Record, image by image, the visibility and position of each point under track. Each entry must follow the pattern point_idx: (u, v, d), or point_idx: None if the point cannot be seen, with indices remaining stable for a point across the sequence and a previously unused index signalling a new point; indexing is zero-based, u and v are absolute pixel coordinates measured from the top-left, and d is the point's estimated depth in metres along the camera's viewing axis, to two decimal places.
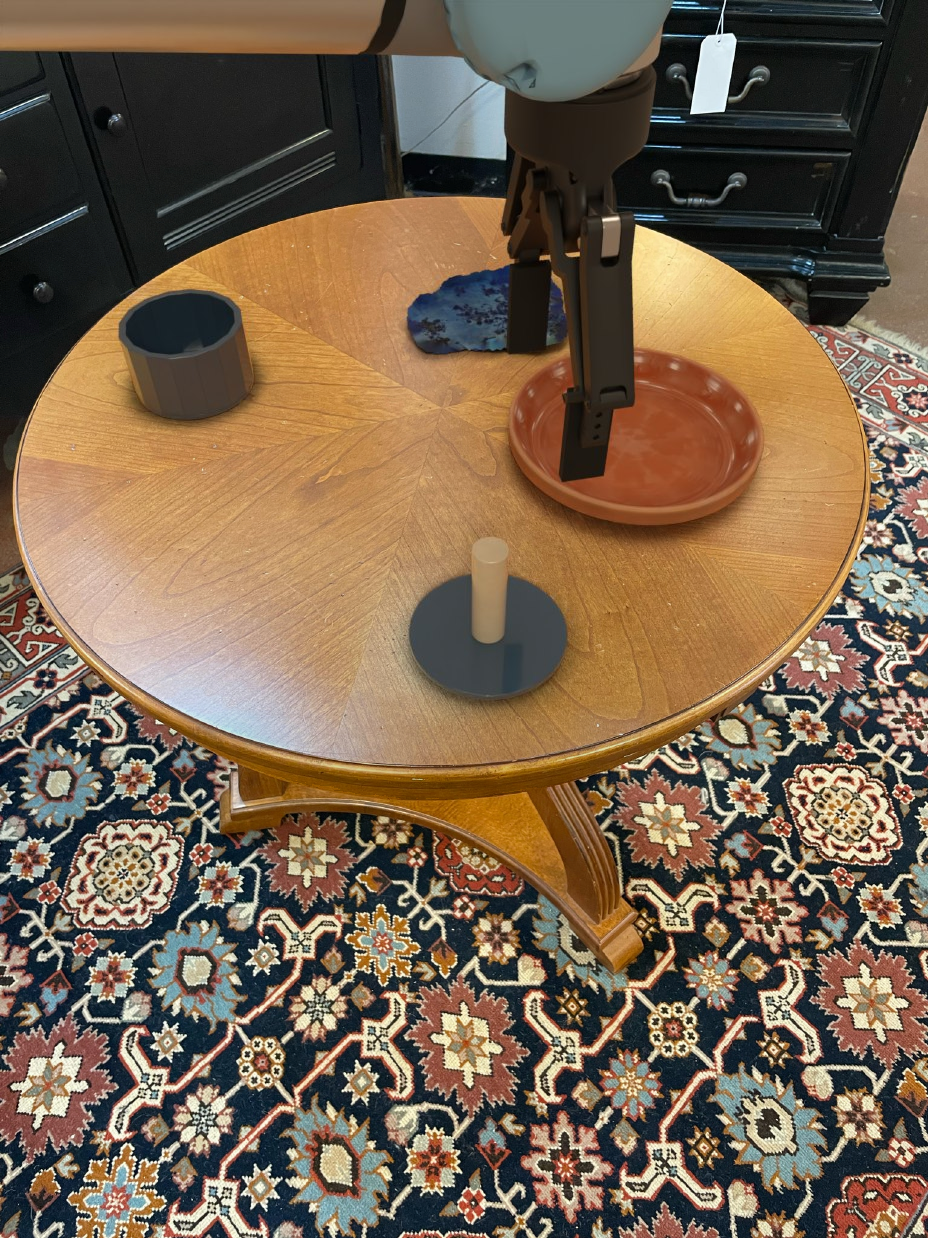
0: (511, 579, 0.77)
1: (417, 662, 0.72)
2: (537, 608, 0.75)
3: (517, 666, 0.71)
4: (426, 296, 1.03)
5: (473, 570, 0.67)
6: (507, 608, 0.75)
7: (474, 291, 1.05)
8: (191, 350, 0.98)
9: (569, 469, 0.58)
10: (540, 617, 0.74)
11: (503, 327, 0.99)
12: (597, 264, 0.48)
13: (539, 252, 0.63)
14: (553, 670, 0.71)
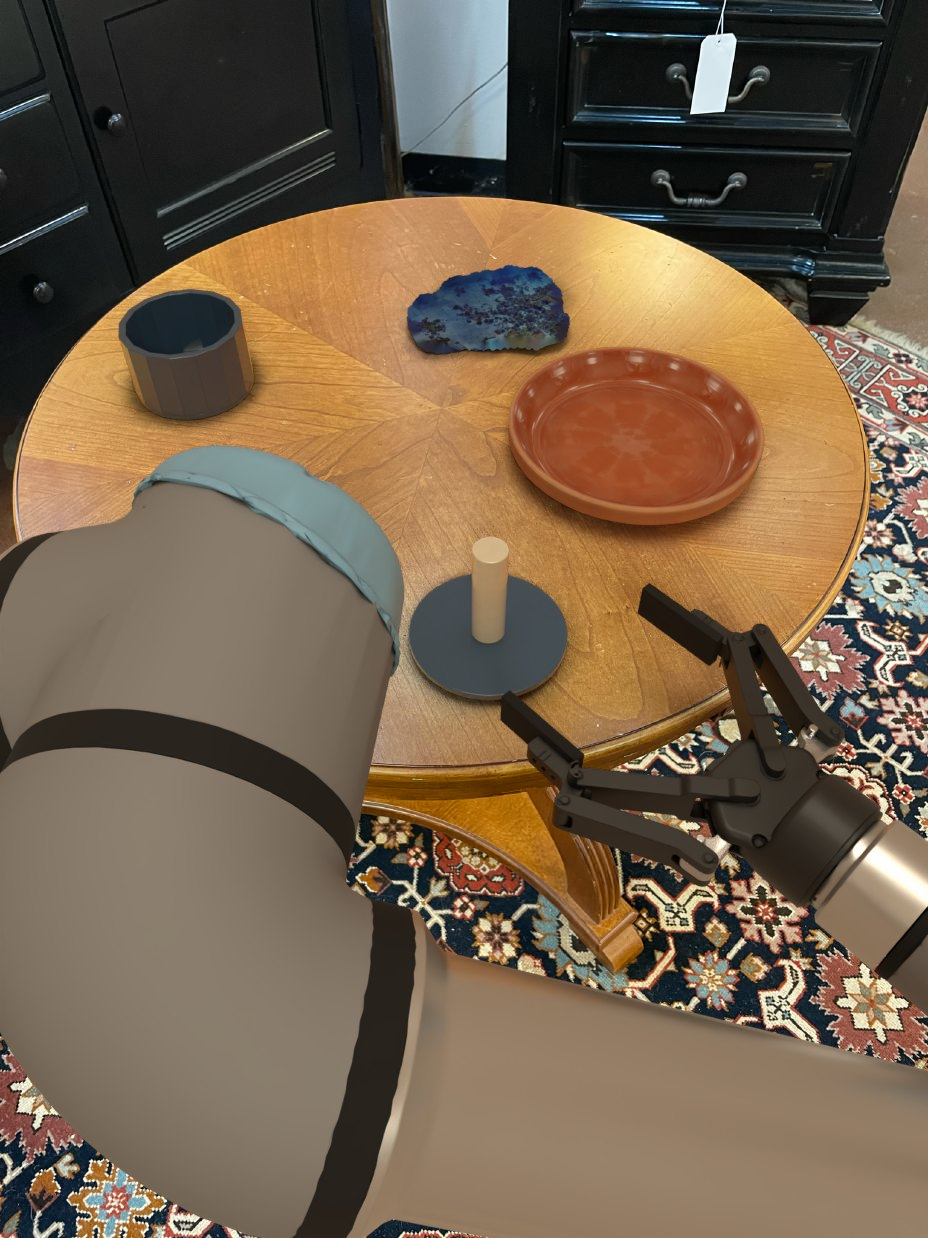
0: (511, 579, 0.77)
1: (417, 662, 0.72)
2: (537, 608, 0.75)
3: (517, 666, 0.71)
4: (426, 296, 1.03)
5: (473, 570, 0.67)
6: (507, 608, 0.75)
7: (474, 291, 1.05)
8: (191, 350, 0.98)
9: (511, 709, 0.60)
10: (540, 617, 0.74)
11: (503, 327, 0.99)
12: (676, 853, 0.54)
13: (724, 659, 0.65)
14: (553, 670, 0.71)
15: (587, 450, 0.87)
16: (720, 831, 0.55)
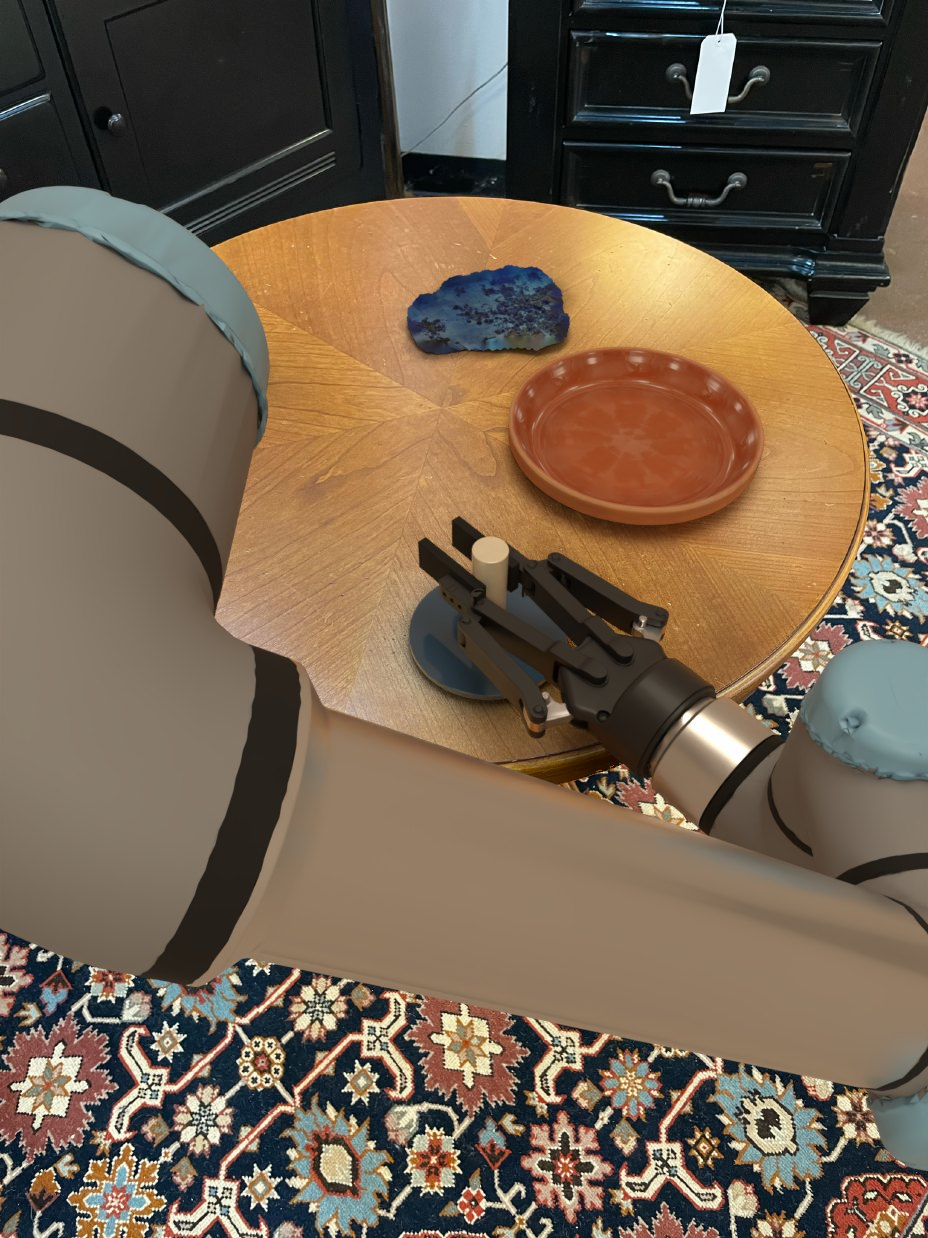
0: None
1: (417, 662, 0.72)
2: (537, 608, 0.75)
3: None
4: (426, 296, 1.03)
5: (473, 570, 0.67)
6: (507, 608, 0.75)
7: (474, 291, 1.05)
8: None
9: (426, 552, 0.70)
10: (540, 617, 0.74)
11: (503, 327, 0.99)
12: (521, 697, 0.62)
13: (527, 587, 0.70)
14: None
15: (587, 450, 0.87)
16: (567, 701, 0.61)
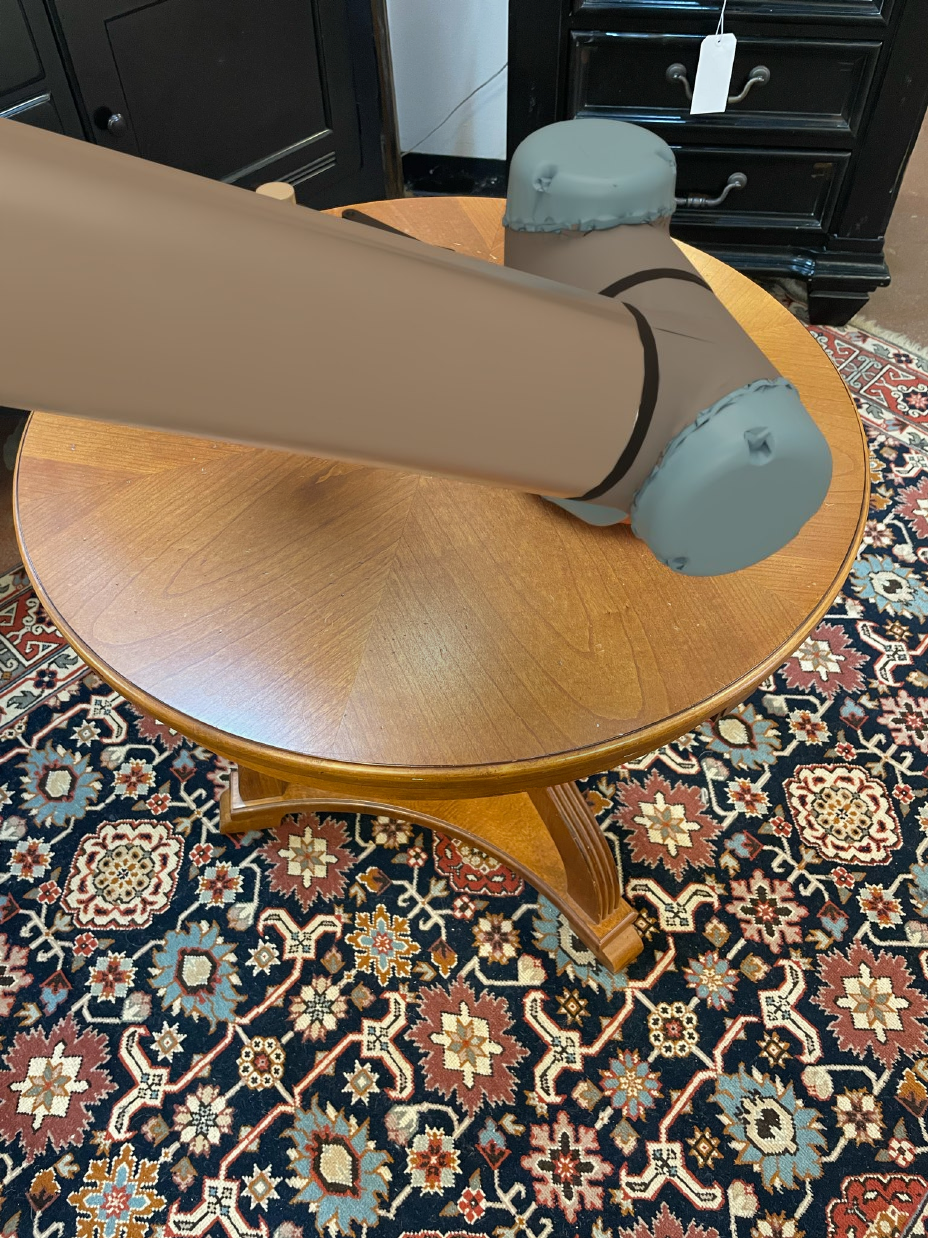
0: None
1: None
2: None
3: None
4: None
5: None
6: None
7: None
8: None
9: None
10: None
11: None
12: None
13: None
14: None
15: None
16: None
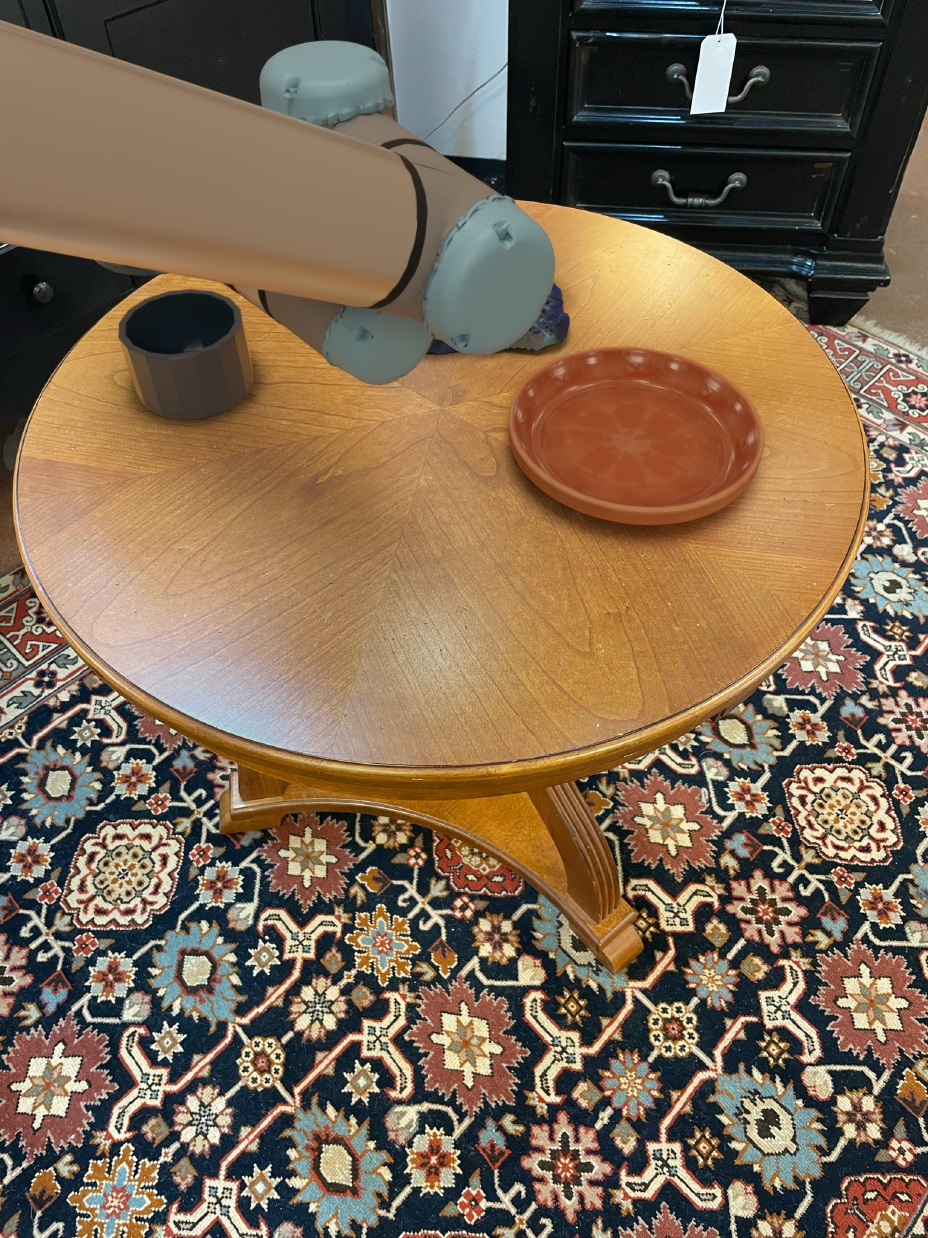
0: None
1: None
2: None
3: None
4: None
5: None
6: None
7: None
8: (191, 350, 0.98)
9: None
10: None
11: None
12: None
13: None
14: None
15: (587, 450, 0.87)
16: None
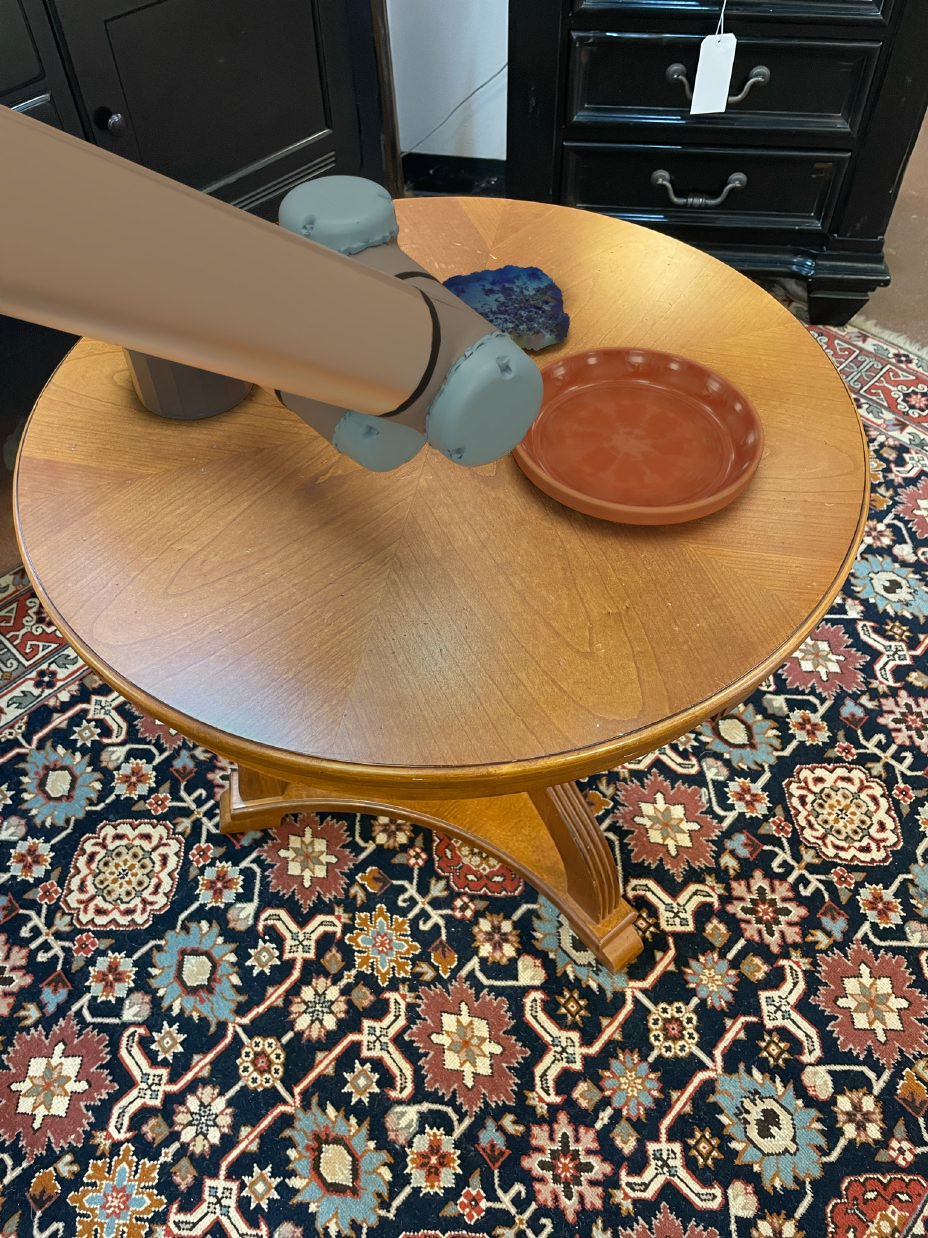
0: None
1: None
2: None
3: None
4: None
5: None
6: None
7: (474, 291, 1.05)
8: None
9: None
10: None
11: (503, 327, 0.99)
12: None
13: None
14: None
15: (587, 450, 0.87)
16: None
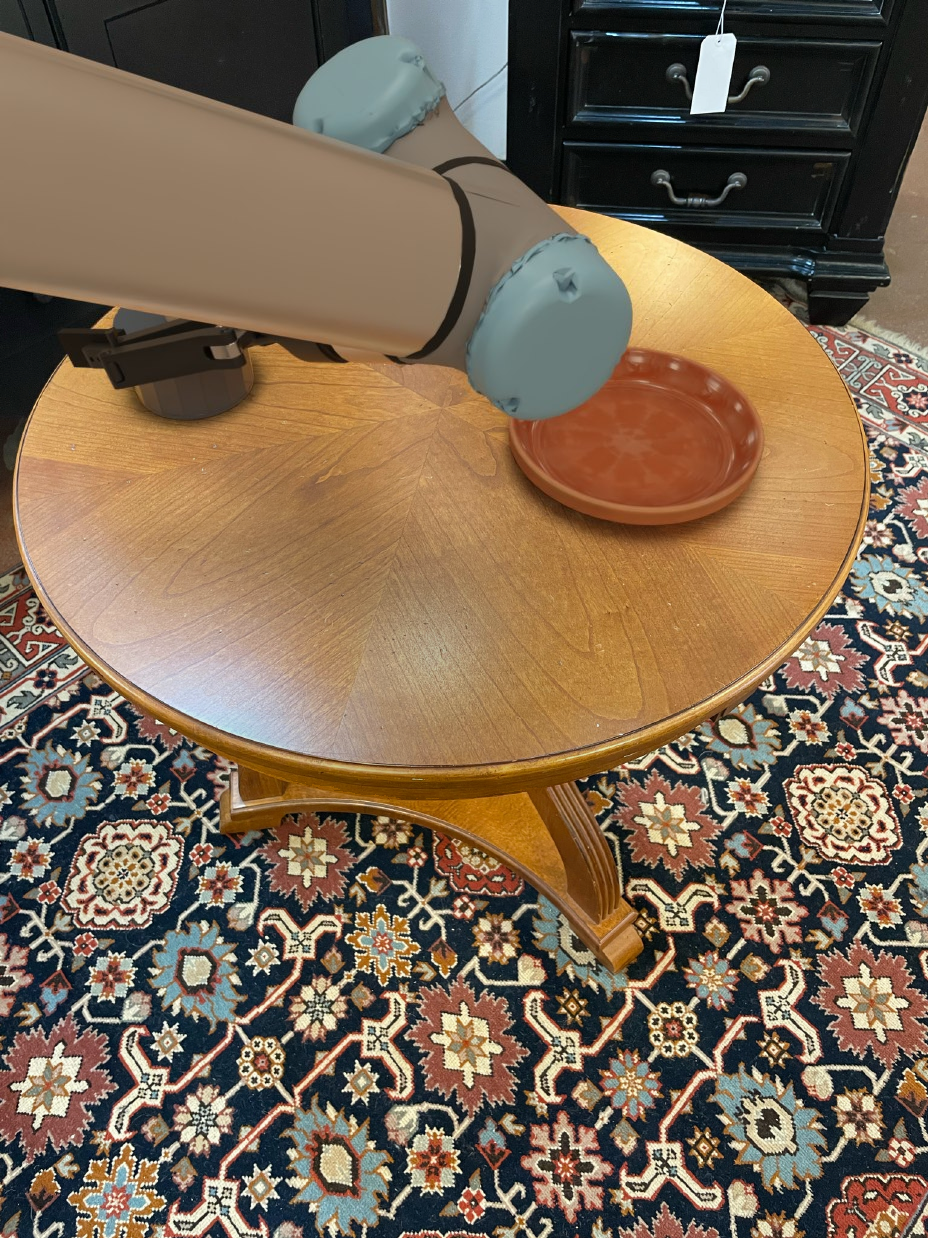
0: None
1: None
2: None
3: None
4: None
5: None
6: None
7: None
8: None
9: (67, 338, 0.69)
10: None
11: None
12: (203, 344, 0.62)
13: None
14: None
15: (587, 450, 0.87)
16: None
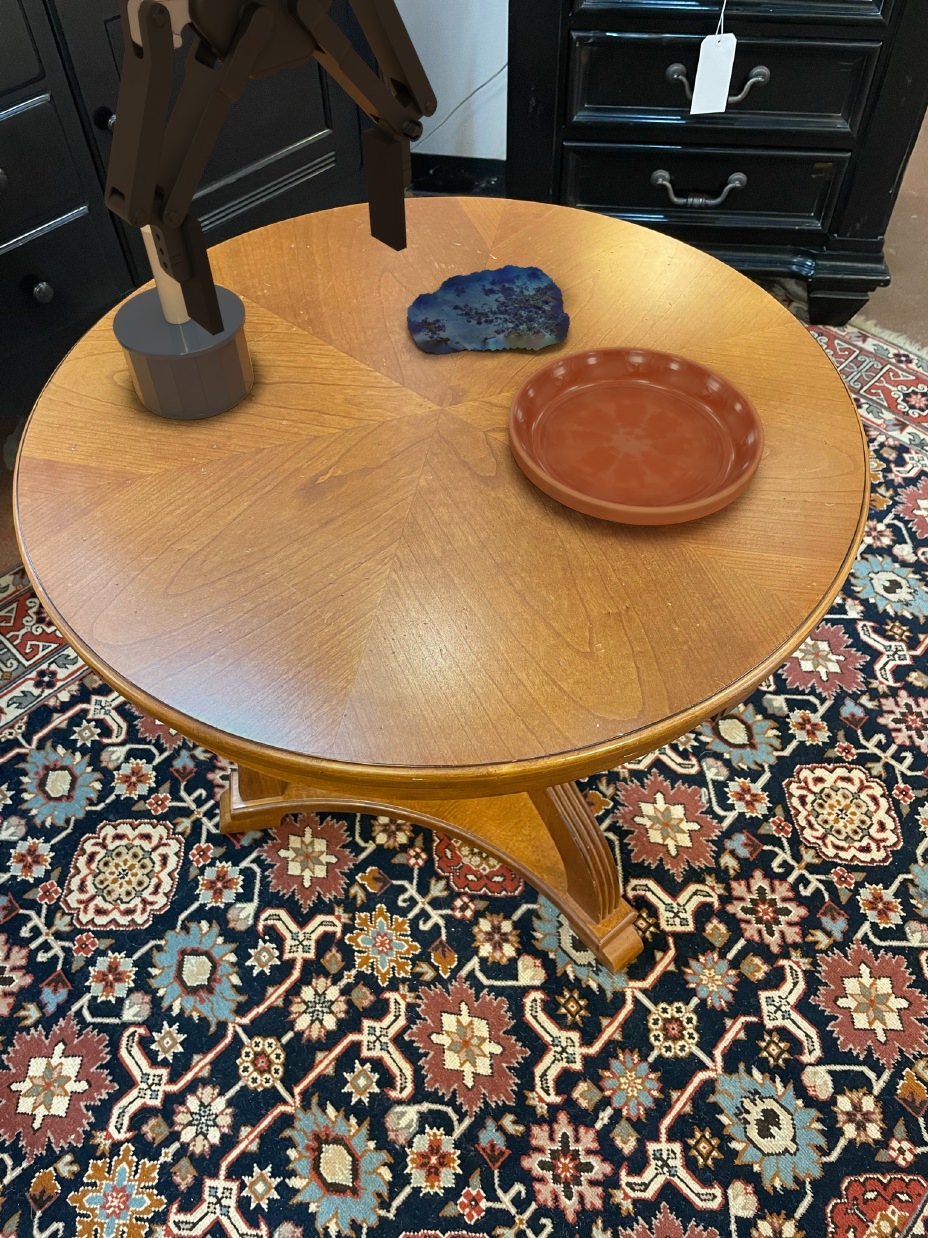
0: None
1: (115, 336, 0.88)
2: (225, 302, 0.91)
3: (195, 337, 0.87)
4: (426, 296, 1.03)
5: (145, 244, 0.83)
6: None
7: (474, 291, 1.05)
8: None
9: (187, 303, 0.55)
10: (225, 308, 0.90)
11: (503, 327, 0.99)
12: (131, 48, 0.44)
13: (393, 128, 0.55)
14: (225, 341, 0.87)
15: (587, 450, 0.87)
16: None
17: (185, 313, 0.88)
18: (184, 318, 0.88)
